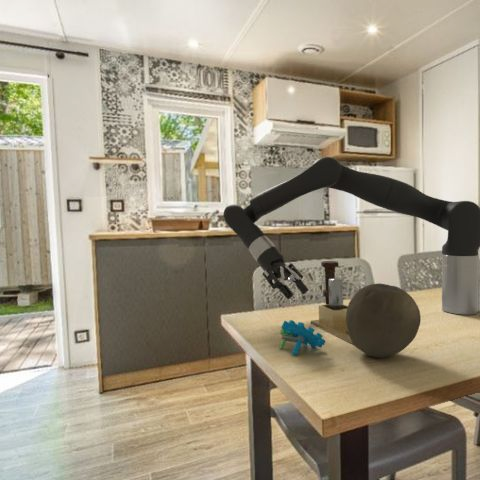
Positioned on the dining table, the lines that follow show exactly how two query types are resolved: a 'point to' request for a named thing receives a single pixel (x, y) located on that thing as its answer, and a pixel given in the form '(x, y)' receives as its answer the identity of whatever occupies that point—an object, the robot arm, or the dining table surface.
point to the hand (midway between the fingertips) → (298, 294)
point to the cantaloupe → (382, 320)
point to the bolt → (328, 276)
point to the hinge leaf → (333, 321)
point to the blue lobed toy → (300, 336)
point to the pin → (335, 293)
